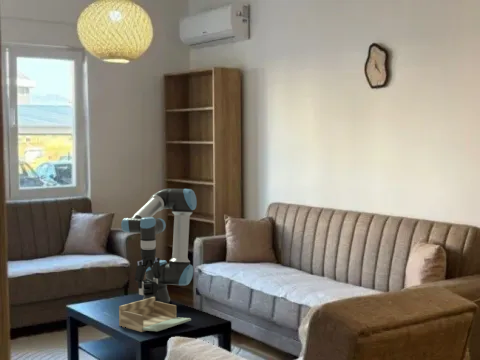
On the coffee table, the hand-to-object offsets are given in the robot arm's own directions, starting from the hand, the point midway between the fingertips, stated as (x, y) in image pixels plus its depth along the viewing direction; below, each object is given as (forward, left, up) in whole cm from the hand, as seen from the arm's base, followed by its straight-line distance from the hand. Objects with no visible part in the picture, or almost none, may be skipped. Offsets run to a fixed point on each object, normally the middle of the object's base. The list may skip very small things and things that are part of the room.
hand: (148, 292), depth 328 cm
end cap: (0, 0, -1) cm, 1 cm away
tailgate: (0, +8, -14) cm, 16 cm away
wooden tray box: (0, 0, -16) cm, 16 cm away
